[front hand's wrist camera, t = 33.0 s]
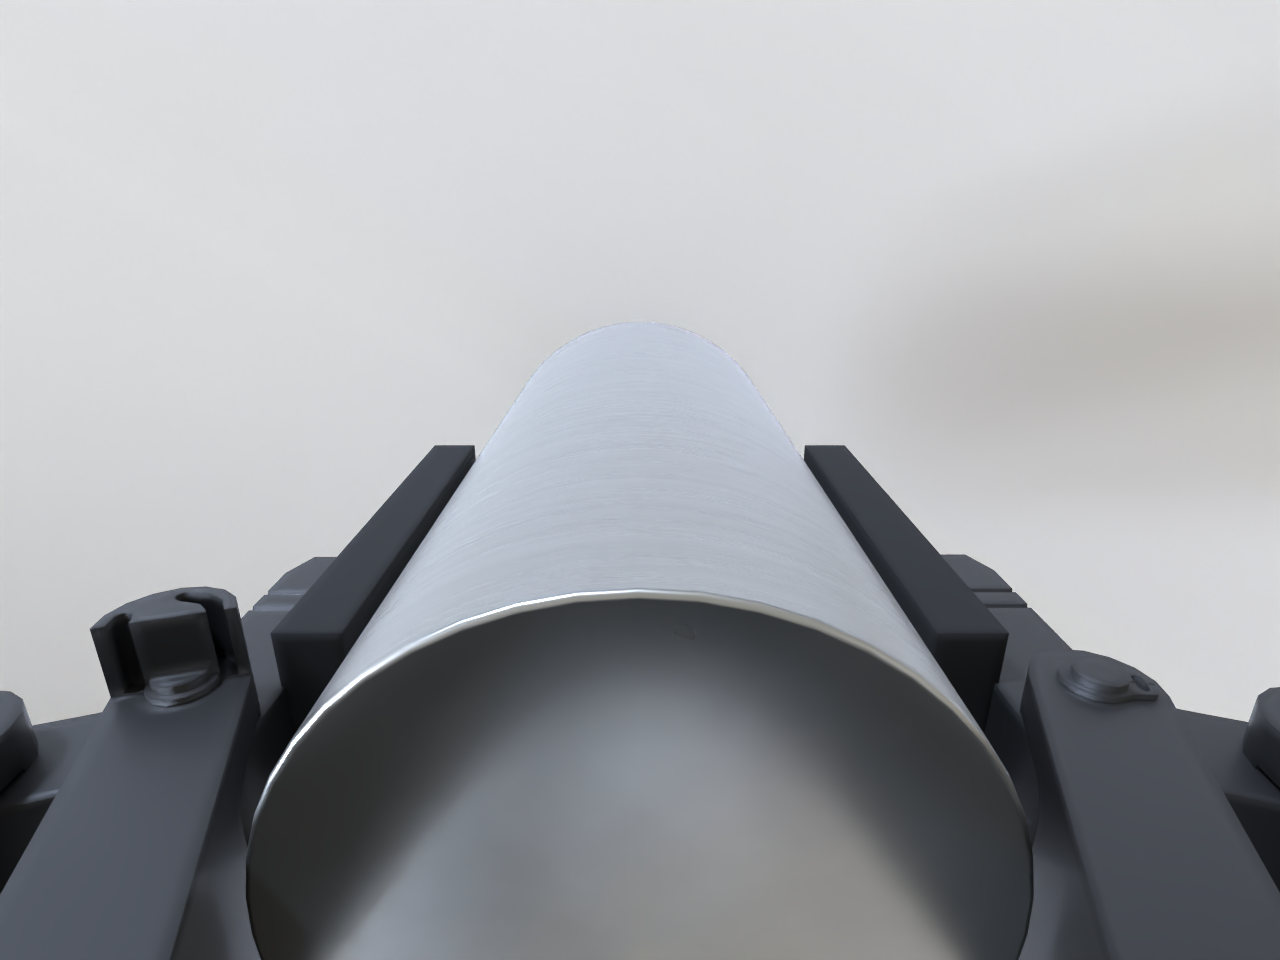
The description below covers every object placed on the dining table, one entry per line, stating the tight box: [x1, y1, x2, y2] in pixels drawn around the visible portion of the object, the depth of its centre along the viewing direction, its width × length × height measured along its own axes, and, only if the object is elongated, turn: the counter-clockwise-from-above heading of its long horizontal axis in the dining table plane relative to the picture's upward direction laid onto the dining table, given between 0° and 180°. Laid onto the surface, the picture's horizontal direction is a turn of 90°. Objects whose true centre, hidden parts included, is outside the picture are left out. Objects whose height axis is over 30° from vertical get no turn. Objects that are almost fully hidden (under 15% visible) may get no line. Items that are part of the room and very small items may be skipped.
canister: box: [246, 322, 1034, 960], centre depth 12 cm, size 6×6×12 cm
